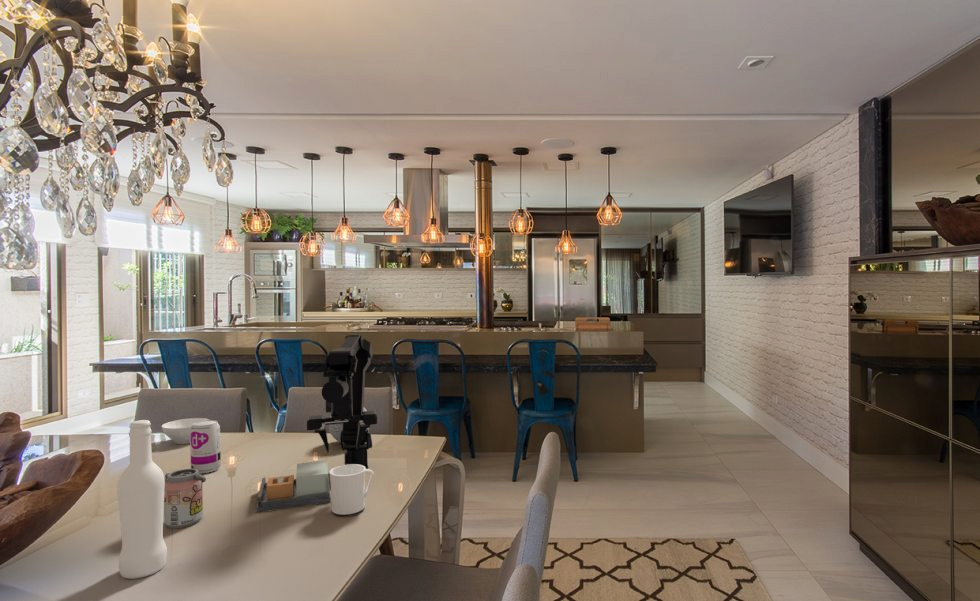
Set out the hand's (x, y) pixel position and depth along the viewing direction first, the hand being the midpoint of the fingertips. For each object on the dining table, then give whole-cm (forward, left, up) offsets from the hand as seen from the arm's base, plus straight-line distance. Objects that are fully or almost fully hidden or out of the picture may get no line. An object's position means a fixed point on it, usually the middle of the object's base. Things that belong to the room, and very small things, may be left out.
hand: (342, 450), depth 147 cm
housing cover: (+8, 0, -10) cm, 13 cm away
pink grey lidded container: (+38, +7, -11) cm, 40 cm away
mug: (-1, +15, -11) cm, 19 cm away
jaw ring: (+16, 0, -10) cm, 19 cm away
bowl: (+53, -73, -11) cm, 91 cm away
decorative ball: (-5, -47, -11) cm, 49 cm away
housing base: (+13, 0, -11) cm, 17 cm away
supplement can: (+40, -33, -11) cm, 53 cm away
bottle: (+41, +30, -11) cm, 52 cm away
